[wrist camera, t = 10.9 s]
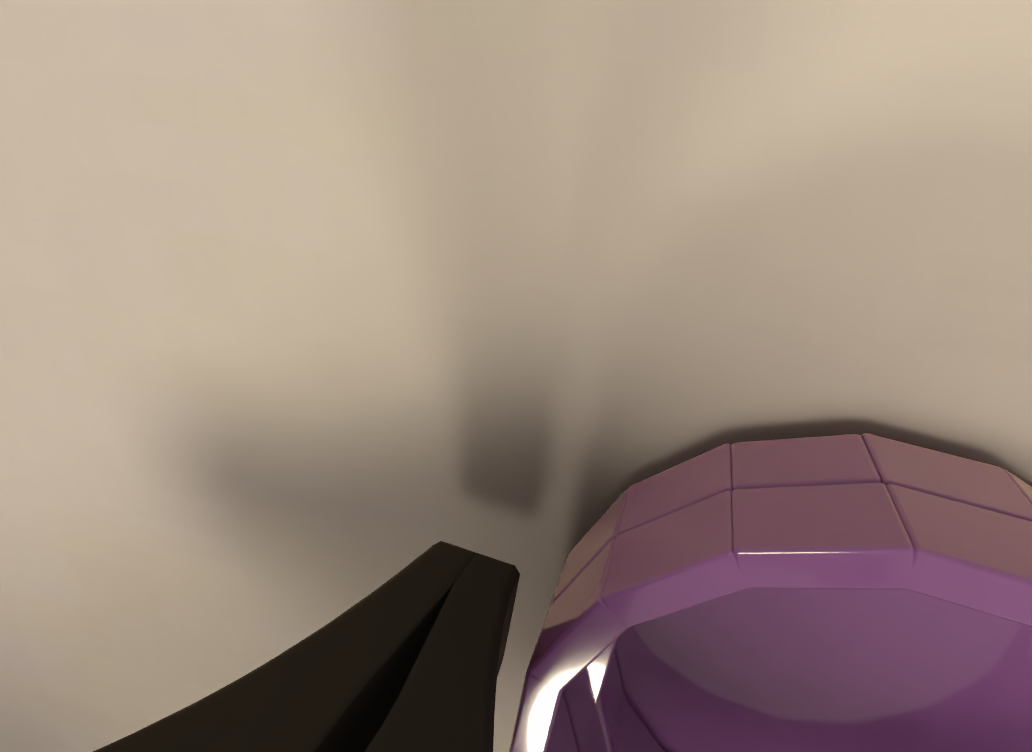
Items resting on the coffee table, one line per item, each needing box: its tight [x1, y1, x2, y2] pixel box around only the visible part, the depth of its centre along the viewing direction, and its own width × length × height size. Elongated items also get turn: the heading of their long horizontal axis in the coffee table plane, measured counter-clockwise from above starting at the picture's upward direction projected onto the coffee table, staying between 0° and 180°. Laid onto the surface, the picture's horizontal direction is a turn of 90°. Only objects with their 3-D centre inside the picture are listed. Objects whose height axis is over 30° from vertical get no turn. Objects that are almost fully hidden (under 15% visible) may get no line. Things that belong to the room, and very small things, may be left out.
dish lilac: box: [509, 433, 1032, 752], centre depth 9 cm, size 8×8×3 cm
